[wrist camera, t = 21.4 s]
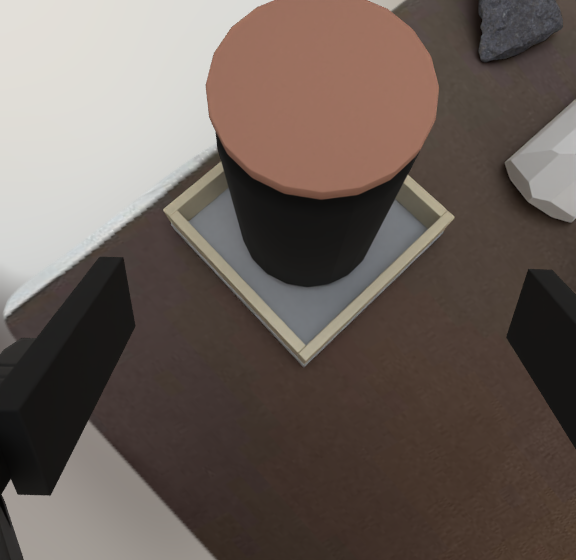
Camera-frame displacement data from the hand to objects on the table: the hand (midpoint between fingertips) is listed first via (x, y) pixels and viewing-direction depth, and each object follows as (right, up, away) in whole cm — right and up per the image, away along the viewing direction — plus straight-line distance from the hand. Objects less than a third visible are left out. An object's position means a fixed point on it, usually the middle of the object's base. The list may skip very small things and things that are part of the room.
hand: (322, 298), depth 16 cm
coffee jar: (0, +5, +23) cm, 24 cm away
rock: (+19, +25, +30) cm, 43 cm away
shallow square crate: (0, +5, +24) cm, 25 cm away
